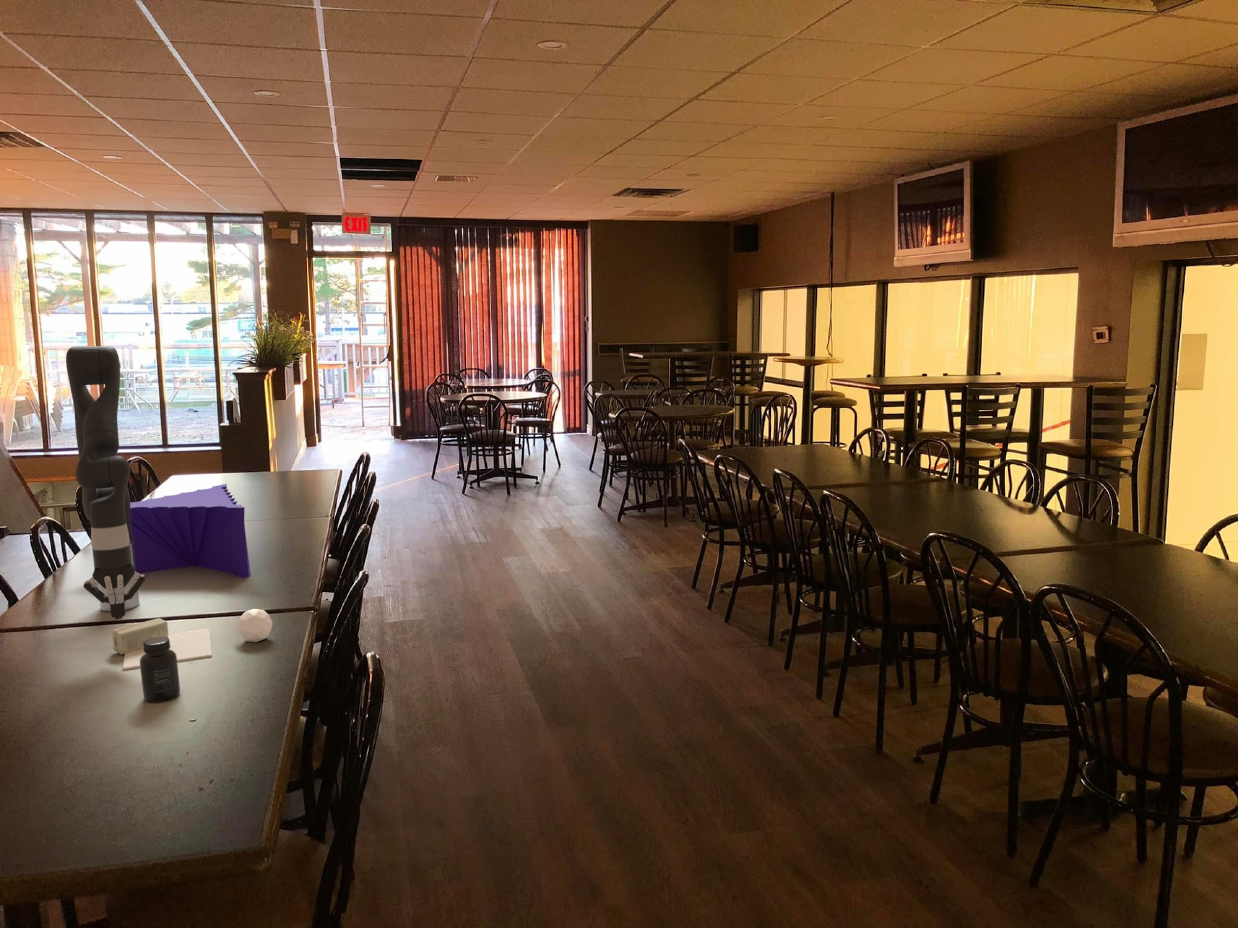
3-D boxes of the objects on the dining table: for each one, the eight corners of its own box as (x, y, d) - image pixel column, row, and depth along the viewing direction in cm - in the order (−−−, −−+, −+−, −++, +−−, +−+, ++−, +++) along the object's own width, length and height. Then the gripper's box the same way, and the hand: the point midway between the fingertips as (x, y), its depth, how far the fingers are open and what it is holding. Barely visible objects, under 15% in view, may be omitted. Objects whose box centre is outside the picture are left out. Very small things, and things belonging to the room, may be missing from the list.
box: (112, 650, 217) (161, 638, 225) (120, 655, 214) (169, 642, 223) (111, 628, 216) (160, 617, 225) (119, 633, 213) (168, 621, 222)
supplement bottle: (186, 689, 195) (180, 634, 193) (171, 702, 189) (166, 646, 187) (152, 690, 195) (147, 635, 193) (137, 703, 188) (131, 646, 186)
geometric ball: (261, 647, 227) (278, 617, 230) (261, 646, 220) (278, 615, 222) (232, 635, 225) (248, 604, 228) (230, 633, 218) (247, 601, 221)
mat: (127, 641, 224) (127, 639, 224) (209, 630, 232) (208, 628, 232) (123, 670, 206) (122, 667, 206) (211, 656, 214) (211, 654, 214)
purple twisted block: (248, 578, 278) (242, 507, 274) (98, 579, 279) (91, 509, 276) (296, 545, 317) (292, 483, 314) (165, 546, 318) (159, 484, 315)
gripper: (144, 537, 217) (151, 609, 220) (79, 544, 212) (87, 617, 214) (143, 544, 210) (150, 618, 213) (75, 551, 205) (84, 627, 208)
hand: (118, 618), depth 214 cm, fingers closed
